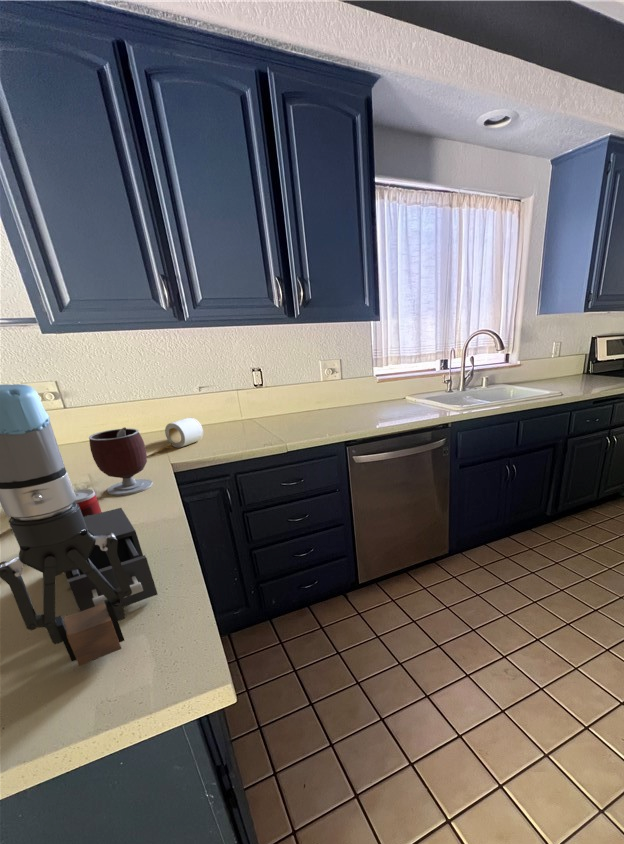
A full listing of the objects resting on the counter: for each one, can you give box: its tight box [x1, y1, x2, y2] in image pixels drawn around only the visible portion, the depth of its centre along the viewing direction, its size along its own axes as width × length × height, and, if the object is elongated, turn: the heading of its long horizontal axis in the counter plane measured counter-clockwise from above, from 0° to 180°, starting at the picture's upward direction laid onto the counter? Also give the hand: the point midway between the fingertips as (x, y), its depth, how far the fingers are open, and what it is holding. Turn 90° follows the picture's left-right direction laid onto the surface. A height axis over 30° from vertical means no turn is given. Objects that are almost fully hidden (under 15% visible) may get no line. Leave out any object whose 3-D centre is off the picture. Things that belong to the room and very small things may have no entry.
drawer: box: [67, 537, 158, 612], centre depth 77 cm, size 18×12×8 cm, turn 39°
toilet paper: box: [164, 417, 204, 449], centre depth 175 cm, size 10×10×10 cm
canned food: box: [73, 488, 103, 517], centre depth 100 cm, size 8×8×11 cm
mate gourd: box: [88, 426, 153, 497], centre depth 128 cm, size 16×14×20 cm
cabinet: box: [64, 507, 144, 581], centre depth 87 cm, size 15×13×10 cm
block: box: [62, 603, 122, 667], centre depth 64 cm, size 6×6×6 cm
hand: (97, 645), depth 65 cm, fingers closed on block, 5 cm apart
